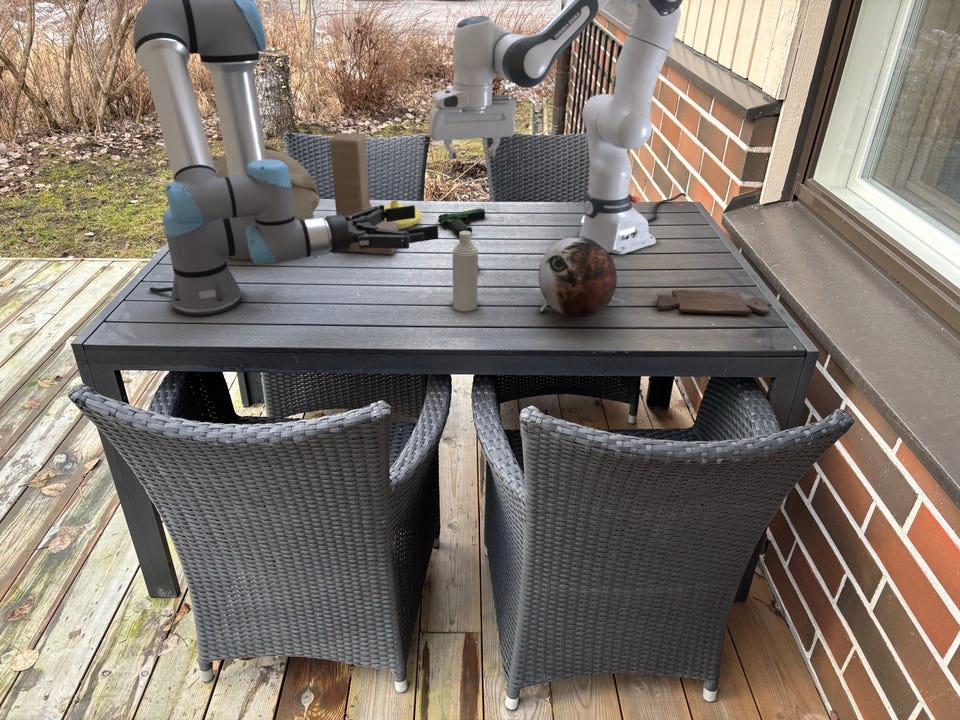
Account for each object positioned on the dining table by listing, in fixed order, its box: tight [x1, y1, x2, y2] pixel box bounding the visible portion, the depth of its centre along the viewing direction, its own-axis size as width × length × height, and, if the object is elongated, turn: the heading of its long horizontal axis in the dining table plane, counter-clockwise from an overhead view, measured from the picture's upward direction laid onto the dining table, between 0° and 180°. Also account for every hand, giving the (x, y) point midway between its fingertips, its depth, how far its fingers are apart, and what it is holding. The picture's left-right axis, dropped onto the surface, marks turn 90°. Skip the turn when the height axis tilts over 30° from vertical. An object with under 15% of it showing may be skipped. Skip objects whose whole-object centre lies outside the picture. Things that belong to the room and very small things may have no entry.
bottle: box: [451, 231, 479, 312], centre depth 162 cm, size 6×6×18 cm
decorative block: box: [329, 132, 399, 255], centre depth 188 cm, size 8×15×30 cm, turn 82°
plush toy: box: [537, 236, 618, 319], centre depth 161 cm, size 22×18×20 cm
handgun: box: [437, 207, 486, 238], centre depth 211 cm, size 16×3×15 cm
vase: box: [384, 199, 423, 230], centre depth 210 cm, size 16×16×7 cm
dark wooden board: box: [656, 289, 771, 316], centre depth 168 cm, size 26×2×10 cm
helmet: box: [213, 133, 321, 260], centre depth 189 cm, size 27×30×30 cm
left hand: (425, 221), depth 152 cm, fingers open, 13 cm apart
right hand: (472, 157), depth 169 cm, fingers open, 8 cm apart
